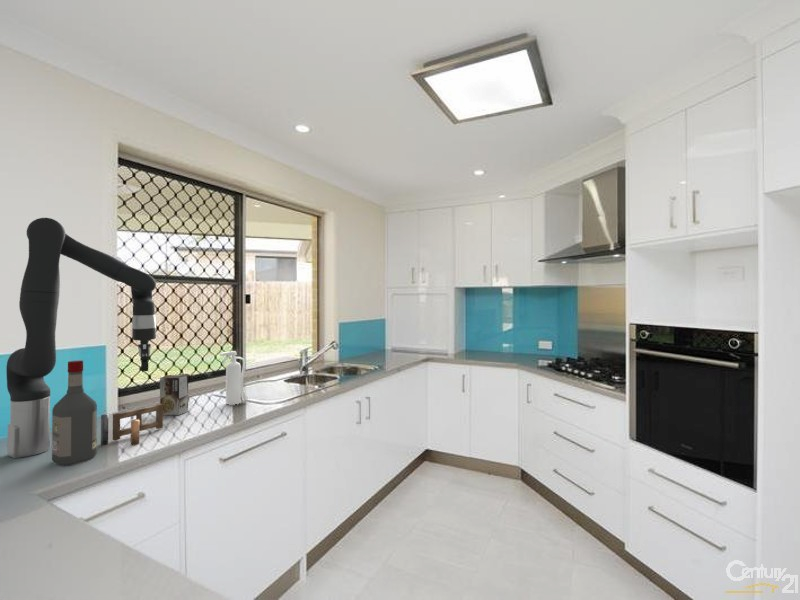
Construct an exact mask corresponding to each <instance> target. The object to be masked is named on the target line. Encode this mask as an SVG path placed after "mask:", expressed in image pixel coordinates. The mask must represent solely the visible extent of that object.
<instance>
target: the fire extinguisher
mask: <svg viewBox="0 0 800 600" xmlns="http://www.w3.org/2000/svg"><path fill="white" fill-rule="evenodd" d="M237 355H238V354H237V351H236V350H233V351H232V350H231V351H225V352H221V353H219V356H226V357H224V359H223V360H222V362H221V365H223V366H225V363H226V361H227V360H228V359H229V358H230V357H231V360H230V362H228V363H227V364H226V366H225V405H226V404H229V405H228V406H236V405H235V404H237V405H239V403H240V404H241V403H242V402H245V401H248V400H249V399H250V397H249V395H248V394H247V391H245V389H244V376H245V367H246V360H245V358H244V357H242V356H237ZM238 359H239V360H241V361H242V365H241V363H240V362H238V361H237V360H238ZM241 400H242V401H241Z"/></svg>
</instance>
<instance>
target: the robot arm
mask: <svg viewBox="0 0 800 600" xmlns="http://www.w3.org/2000/svg"><path fill="white" fill-rule="evenodd" d="M26 238H27V239H28V258H27V263H26V268H25V271H24V274H23V278H22V283H21V286H20V294H19V305H18V306H19V312H20V315H21V318H22V321H23V325H24V327H25V328H24V329H25V331H26V332H25V333H26V337H25V346H24V347H23V348H19V349H16V350H15V351H14V352H12V353H11V354H10V355H9V357H8V359H7V362H6V370H5V372H6V388H7V392H8V394H9V396H10V398H9V399H10V404H9V405H10V407H9V408H10V415H9V416H10V417H9V423H8V424H7V443H6V444H7V445H6V446H7V455H8V456H9V457H11V458H12V459H17V458H23V457H24V458H25V457H30V456H35V455H38V454H43V453H45V452H46V451H49V450H50V448H51V447H50V446H51V445H50V444H51V388H50V386H49V385H48V384H46V381H45V379H44V377H46V376H48V375H49V374H50V373H51V372H52V371H53V369H54V368H55V366H56V363H57V362H56V361H57V349H56V347H57V346H56V329H57V322H58V321H57V320H58V319H57V318H58V309H59V302H60V288H61V286H60V285H61V284H60V283H61V282H60V278H61V277H60V259H61V256H65V257H67V258H68V259H69V258H70V259H71V260H73V261H76V262H79V263H80V264H82V265H84V266H86V267H87V268H89V269H92V270H93V271H95V272H97V273H99V274H101V275H104V276H106V277H108V278H110V279H112V280H113V281H116V282H119V283H122V284H125V285H126V286H128V287H130V293H131V299H132V320H131V331H132V332H131V336H132V337H131V339H132V341H140V342H139V343H138V345H137V349H138V356H139V357H140V371H141V372H149V361H150V356H151V349H152V347H151V343H149V341H151V340H155V339H156V338H157V322H156V321H157V320H156V306H155V302H154V299H153V291H154V290H155V289H156V286H157V281H156V279H155V278H154V277H153V276H151V275H150V274H148V273H146V272H144V271H141V270H140V269H137V268H134V267H132V266H130V265H128V264H127V263H125V262H123V261H122V260H120V259H118V258H116V257H114V256H113V255H110V254H108V253H105V252H102V251H100V250H97V249H95V248H92V247H90V246H88V245H85V244H83V243H81V242H79V241H78V240H76V239H74V238H72V237H71V236H70V235H69V234H67V233H66V230H65V228H64V226H63V225H62V224H61V223H60V222H59V221H57V220H56V219H53V218H51V217H39V218H36V219H34V220H32V221H31V222H30V223H29V224H28V226H27V228H26Z"/></svg>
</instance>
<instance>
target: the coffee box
mask: <svg viewBox="0 0 800 600" xmlns="http://www.w3.org/2000/svg"><path fill="white" fill-rule="evenodd" d="M159 404H163V416H180V414H181V415H183V414H185V412H186V413H187V411H188V412H189V375H188V374H168V375H165V376H162V377H161V376H160V377H159ZM182 413H183V414H182Z"/></svg>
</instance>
